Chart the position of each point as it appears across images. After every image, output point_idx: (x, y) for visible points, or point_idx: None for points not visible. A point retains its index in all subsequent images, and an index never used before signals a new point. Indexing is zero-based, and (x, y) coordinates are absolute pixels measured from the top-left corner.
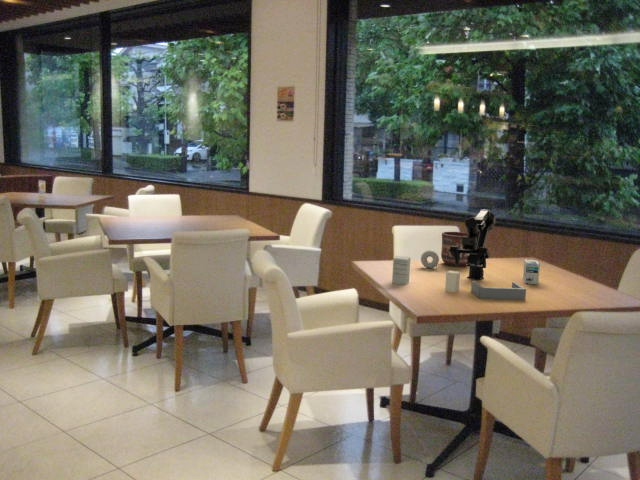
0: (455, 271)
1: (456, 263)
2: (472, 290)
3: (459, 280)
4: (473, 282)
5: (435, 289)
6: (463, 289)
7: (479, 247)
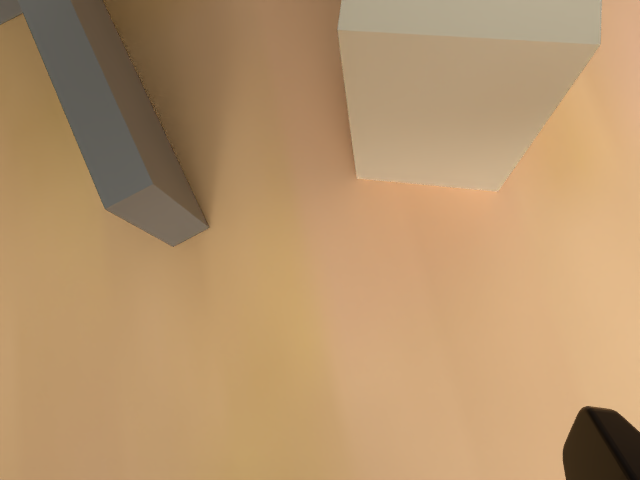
0: (448, 8)
1: (628, 447)
2: (177, 170)
3: (349, 113)
4: (119, 107)
5: (634, 49)
6: (313, 265)
7: None
